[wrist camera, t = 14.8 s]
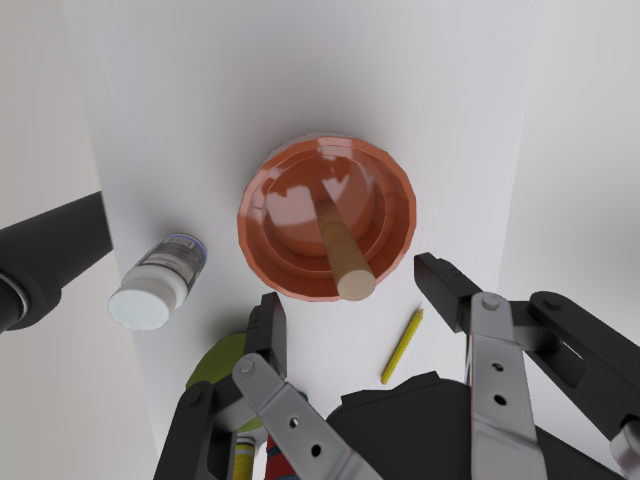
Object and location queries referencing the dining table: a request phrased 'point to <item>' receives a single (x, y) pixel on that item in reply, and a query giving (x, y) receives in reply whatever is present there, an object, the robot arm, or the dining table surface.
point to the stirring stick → (344, 254)
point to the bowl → (300, 220)
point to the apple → (223, 367)
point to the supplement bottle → (244, 459)
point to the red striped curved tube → (278, 461)
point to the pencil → (402, 346)
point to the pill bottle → (158, 283)
